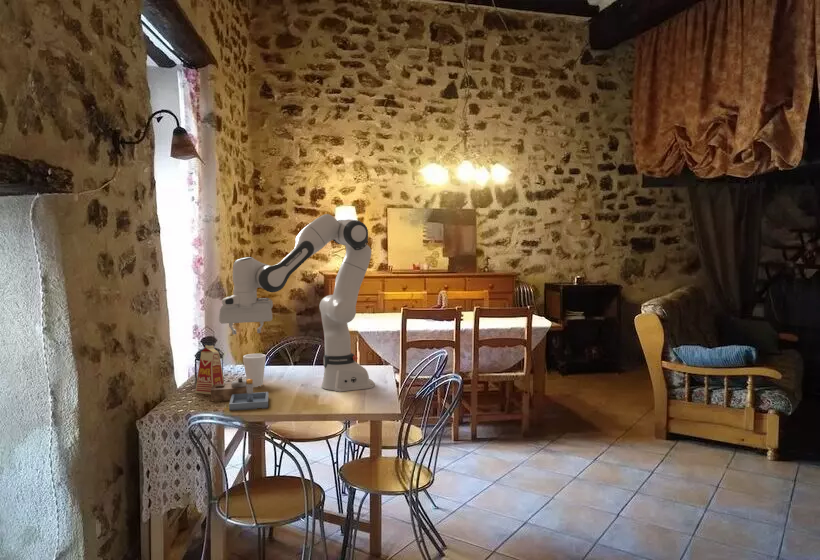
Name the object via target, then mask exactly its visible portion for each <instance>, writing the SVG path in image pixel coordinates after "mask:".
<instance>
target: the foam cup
mask: <svg viewBox="0 0 820 560" xmlns="http://www.w3.org/2000/svg"><path fill="white" fill-rule="evenodd" d="M266 358H267V357H266V354H263V353H249V354H248V353H247V354H245V355H243V356H242V361H243V367H244V372H245V380H247V379H253V388H259V387H258V386H260V387H262V386H263V383H264V378H265V377H264V376H265V367H266V360H267V359H266ZM261 385H262V386H261Z"/></svg>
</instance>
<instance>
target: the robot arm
mask: <svg viewBox="0 0 820 560" xmlns="http://www.w3.org/2000/svg"><path fill="white" fill-rule="evenodd" d="M367 227H368V226H366V224H365V223H363V222H362V221H360V220H355V219H340V220H337V219H336V217H334V216H333V215H331V214H329V213H325V214H322V215H320V216H318V217H317V218H315V219H314V220H313V221H311V222H310V223H308V224H307V225H306V226H304V227H303V228H302V229H301V230H300V231H299V233H298V234H297V235H296V237H295V241H294V242H295V243H294V244H295V245H294V248H293V249H292V250H291V251H290V252H289V253H288V254H287V255H286V256H285V257H284V258H283V259H282V260H280V262H277V263H276V264H273V265H271V264H267V263H263V262H261V261H259V260H258V259H255V258H254V257H252V256H247V257H240V258H238V259H235V261H234V262H233V265H232V266H233V267H232V283H233V285H234V286H233V291H232V293H233V294H232V295H228V296H227V297H223V298H222V300H221V304H222V305H221V306H220V309H219V316H218V320H219V323H220V324H228V326H229V328H230V330H231V333H232V335H233V336H234V335H237V329H236V328H234V327H233V325H234V324H241V323H259V325H260V326H259V327H257V328H256V331H257V334H261V333H262V329H263V326H264V322H271V321H272V320H273V311H272V309H273V306H274V302H273V300H272V299H271V298H269V297H258V296H257V295H258V293H257V292H258V290H257V289H258V288H260V289H263V290H264V291H266V292H268V293H277V292H279V291H281V290H282V289H284V287H285V286H286V284H287V282H288V279H289V278H290V276H292V274H293V273H294V272H295V271H296V270H297V269H299V267H300V266H301V265H303V264H304V263H305V262H306V261H307V260H308V259H310V258H311V257H312V256H313V255H315V254H316V253H318V252H319V251H321V250H322V249H323V248H324V247H325V246H327V244H328V243H330V242H331V241H333V242H334V243H336V244H338V245H343V246H345V256H344V257H343V259H342V262H341V264H340V265H339V270H338V272H337V273H336V277H335V281H334V282H335V285H334V287H333V294H328V295H325V296H324V297H323V298H322V299H321V300H320V302H319V312H320V317H321V324H322V329H323V336H324V338H323V339H324V354H323V367H324V369H323V370H324V371H323V379H322V384H321V388H322V389H325V390H329V391H335V392H340V393H341V392H350V391H357V390H366V389H372V388H374V387H375V382H374V381H373V380H372V379H370V376H369V373H368V370H367V369H366V368H365V367H364V366H362V365H361V364H360V363H358V362H356V361H357V360H358V356H357V355H356V354H354V353H353V352H351V351H352V349H351V346H352V345H351V333H350V330H349V326H348V323H351V322H352V321H353V320H354V319H355V316H356V313H357V309H356V308H357V307H356V305H357V303H358V302H357V301H358V297H359V292H360V288H361V285H362V283H363V281H364V278H365V277H366V276H365V275H366V273H367V272H368V271H367V270H368V267H369V265H370V261H371V257H372V249H371V247H370V246H369V245H368V243H369V241H368V240H369V229H368V228H367Z"/></svg>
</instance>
